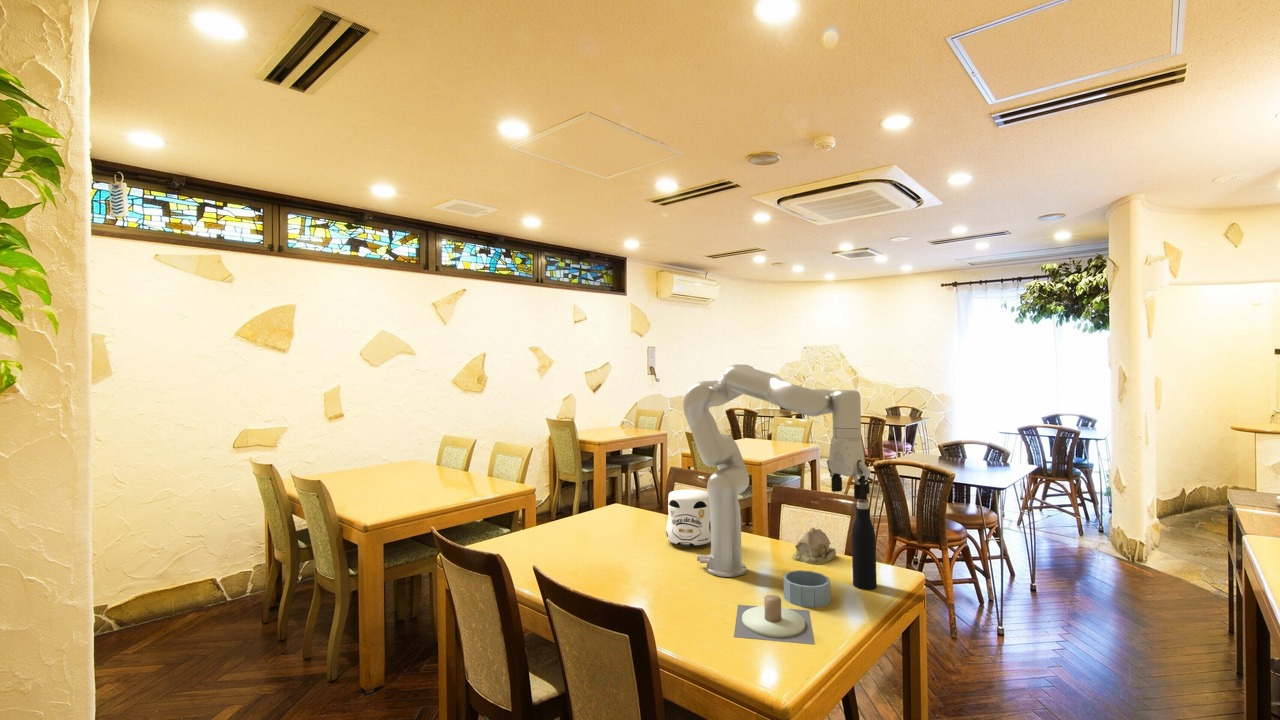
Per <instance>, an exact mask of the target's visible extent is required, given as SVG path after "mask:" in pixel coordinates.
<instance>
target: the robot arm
mask: <svg viewBox="0 0 1280 720" xmlns="http://www.w3.org/2000/svg"><path fill="white" fill-rule="evenodd" d="M742 395H745V396H749V397H752V398H755V399H757V400H762V401H765V402H766V403H767V402H768V403H770V404H772V405H774V406H777V407H780V408H782V409H785V410H789V411H791V412H794V413H798V414H801V415H804V416H808V417H813V418H814V417H819V416H822V415H828V414H829V415H830V414H832V417H831V418H832V437H831V439H830V446H829V453H828V454H829V455H828V456H829V457H828V459H827V460H826V465H827V469H828V472H829V477H830V478H831V479H830V480H831V485H830V487H831V492H832V493H836V492H842V491H843V478H842V476H845V477H851V478H852V479H853V480H854V484H853V495H854V496H853V497H854V499H855V500H858V499H865V484H867V481H868V482H869V479H870V475H871V472H872V471H871V469H870V468H869V467H868V466H867V464H865V451H864V445H863V444H864V443H863V439H862V414H861V413H862V410H861V409H862V407H861V404H862V403H861V402H862V401H861V398H862V397H861V393H860V392H859V391H858V390H856V389H837V390H835V389H834V390H833V389H827V388H814V389H811V388H807V387H803V386H801V385H797V384H794V383H790V382H788V381H786V380H784V379H782V377H780V376H779V375H778V374H775V373H770V372H767V371H762V370H761V369H756V368H754V367H753V366H752V365H749V364H743V363H742V364H738V363H737V364H732V365H730V366H728V367H727V368H726V369H725V370H724V372H723V376H721V377H718V378H717V379H716V380H703V381H699V382H696V383H694V384H693V385H691V386H690V388H688V390H687V391H686V393H685V395H684V398H683V401H682V405H683V412H684V416H685V420H686V421H687V424H688V427H689V429H690V432H691V434H692V439H693V441H694V443H695V447H696V450H697V452H698V454H699V457H700V459H701V461H702V462H703V464H705V466H707V467H717V470H716V471H714V472H713V473H712V474H711V475H710V477H709V478H708V480H707V484H706V490H707V491H706V492H708V497H709V504H710V526H711V542H710V553H709V554H706V555H705V554H697V555H696V560H697V562H699V563H700V564H706V566H705V567H706V569H705V570H706V571H707V573H709V574H711V575H713V576H717V577H725V578H733V577H734V578H735V577H739V576H742V575H744V574H746V573H747V572H748V570H747V569H748V567H747V565H746V564H744V563H743V562H742V558H743V556H742V519H741V517H742V516H741V506H740V502H739V497H738V496H739V495H741V494H743V493H744V492H746V490H747V489H748V487H749V485H750V476H749V472H748V469H747V467H746V464H745V461H744V458H743V456H742V452H741V450H740V448H739V446H738V444H737V442H736V441H735V439H734V438H732V437H731V436H730V435H727V434H726V433H725V434H724V433H720V430H719V427H718V425H717V422H716V420H715V418H714V416H713V415H712V412H711V411H710V408H712V407H720V406H722V405H726V404H727V403H729V402H730V401H731V402H732V400H735V399H736V398H737V399H738V398H739V397H740V396H742ZM855 483H856V484H855Z"/></svg>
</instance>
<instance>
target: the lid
mask: <svg viewBox="0 0 1280 720" xmlns="http://www.w3.org/2000/svg"><path fill="white" fill-rule="evenodd" d="M763 602H764V603H763V604H764V605H760V606H759V605H757V606H758V607H753V608H750V609H748V610H746V611H745V612H744V613H743V615H742V623H743V625H744V626H745V627H746V628H747V629H748V630H750V631H752V632H754V633H756V634H759V635H763V636H767V637H775V638H785V637H792V636H796V635H798V634H800V633H802V632H803V631H804V629H805V620H804V618H803V617H802V616H801V615H800V614H798V613H797V612H795V611H792V610H790V609H791V608H786V607H783V606H782V598H781V597H780V596H778V595H776V594H775V595H774V594H768V595H765V596H764V597H763Z"/></svg>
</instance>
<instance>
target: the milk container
mask: <svg viewBox="0 0 1280 720" xmlns="http://www.w3.org/2000/svg"><path fill="white" fill-rule="evenodd" d="M667 500H668V503H667V504H668V505H667V509H668V510H667V511H668V518H667V522H666V527H665V535H666V537H667V540H668V542H670V543H671V544H672V545H673V546H674V545H675V546H678V547H683V548H700V547H704V546H706V545H708V544H711V526H710V504H709V497H708V491H705V490H700V489H679V490H673V491H670V492H669V493H668V498H667Z"/></svg>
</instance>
